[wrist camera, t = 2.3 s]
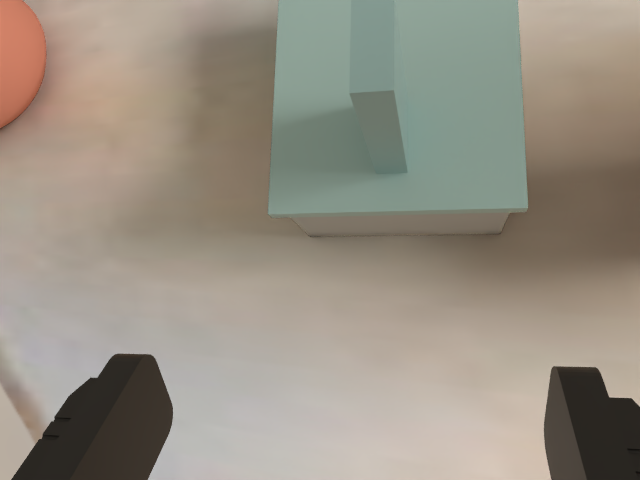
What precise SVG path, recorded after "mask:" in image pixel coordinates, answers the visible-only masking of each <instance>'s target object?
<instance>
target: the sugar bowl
mask: <svg viewBox="0 0 640 480" xmlns="http://www.w3.org/2000/svg"><path fill="white" fill-rule="evenodd" d="M45 66H46V41H45V36H44V32H43V29H42V26H41V24H40V22H39V20H38V18H37V17H36V15H35V13H34V12H33V11H32V9H31V8H30V7H29V6H28V5H27V4H26V3H25V2H23V1H22V0H0V128H2V127H4V126H5V125H7V124H9V123H10V122H12V121H13V120H15V119H16V118H17V117H18V116H19V115H20V114H21V113H23V111H24V110H25V109H26V108H27V107H28V106H29V105H30V103H31V102H32V101H33V99H34V97H35V96H36V94H37V92H38V90H39V88H40V86H41V83H42V80H43V77H44V72H45Z"/></svg>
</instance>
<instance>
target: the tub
mask: <svg viewBox="0 0 640 480" xmlns="http://www.w3.org/2000/svg"><path fill="white" fill-rule="evenodd" d="M509 214H510V213H468V214H424V215H381V216H338V217H295V218H291V219H292V220H293V221H294V222H295V223H296V224H298V225H299V226H300V227H301V228H302V229H303V230H304V231H305V232H306V233H307V234H308V235H309V236H310V237H327V236H390V235H454V234H500V233H501V231H502V229H503V226H504V224H505V222H506V220H507V218H508V216H509Z"/></svg>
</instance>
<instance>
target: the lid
mask: <svg viewBox="0 0 640 480" xmlns="http://www.w3.org/2000/svg"><path fill="white" fill-rule="evenodd" d="M527 209H528V195H527V175H526V154H525V134H524V114H523V94H522V73H521V53H520V33H519V12H518V0H279V3H278V23H277V43H276V63H275V82H274V102H273V122H272V142H271V161H270V181H269V201H268V215H269V216H270V217H272V218H295V217H338V216H381V215H424V214H468V213H511V212H526V211H527Z"/></svg>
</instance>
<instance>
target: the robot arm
mask: <svg viewBox="0 0 640 480" xmlns="http://www.w3.org/2000/svg"><path fill="white" fill-rule="evenodd" d="M172 419H173V407H172V403H171V400H170V397H169V394H168V392H167V389H166V386H165V383H164V381H163V378H162V375H161V373H160V370H159V367H158V364H157V362H156V360H155V358H154V357H153V356H152V355H147V354H115V355H114V356H112V357H111V359H110V360H109V361H108V363H107V364H106V366H105V367H104V369H103V370H102V372H101V373H100V375H99V376H98V378H90V379H89V380H87V381H86V382H85V383H84V384H83V385H82V386H80V387H79V388H78V389H77V390H76V391H74V392H73V393H72V394H71V395H70V396H69V397H68V398H67V400H66V401H65V403H64V404H63V406H62V407H61V408H60V410H59V411H58V413H57V414H56V416H55V420H54V422H53V421H52V422H51V423H50V424H49V426H48V427H47V429H46V430H45V432H44V433H43V437H42V439H39V440H38V442H37V443H36V445H35V446H34V448H33V449H32V450H31V452H30V453H29V455H28V456H27V458H26V459H25V461H24V462H23V464H22V465H21V466H20V468H19V469H18V471H17V472H16V474H15V475H14V477H13V478H12V479H11V480H148V478H149V475H150V473H151V471H152V469H153V467H154V465H155V463H156V460H157V458H158V456H159V454H160V452H161V450H162V447H163V445H164V443H165V441H166V439H167V437H168V434H169V432H170V429H171V425H172ZM544 439H545V449H546V455H547V460H548V465H549V470H550V475H551V479H552V480H640V407H639V406H638V405H637V404H636V403H635V402H634V401H633V399H632V398H609V396H608V393H607V390H606V387H605V385H604V382H603V379H602V376H601V374H600V372H599V370H598V369H597V368H596V367H557V366H554V367H553V368H552V370H551V376H550V383H549V390H548V398H547V405H546V413H545V421H544Z"/></svg>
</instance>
